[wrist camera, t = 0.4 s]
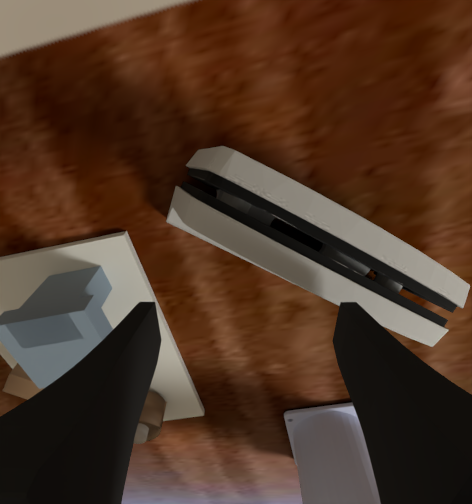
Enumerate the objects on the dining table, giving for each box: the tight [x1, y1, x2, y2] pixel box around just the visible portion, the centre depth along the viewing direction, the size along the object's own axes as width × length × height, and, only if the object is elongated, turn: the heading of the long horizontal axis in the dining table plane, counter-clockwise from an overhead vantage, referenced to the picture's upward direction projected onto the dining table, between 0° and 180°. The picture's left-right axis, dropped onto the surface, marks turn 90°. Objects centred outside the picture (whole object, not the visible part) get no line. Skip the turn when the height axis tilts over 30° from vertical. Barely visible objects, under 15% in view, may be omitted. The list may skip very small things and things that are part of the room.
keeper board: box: [0, 231, 205, 421], centre depth 25 cm, size 20×14×6 cm
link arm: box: [3, 363, 167, 444], centre depth 27 cm, size 13×4×3 cm, turn 58°
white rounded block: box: [166, 146, 470, 347], centre depth 18 cm, size 17×5×10 cm, turn 61°
